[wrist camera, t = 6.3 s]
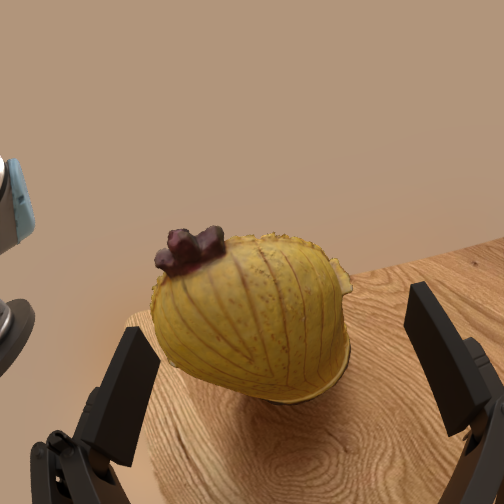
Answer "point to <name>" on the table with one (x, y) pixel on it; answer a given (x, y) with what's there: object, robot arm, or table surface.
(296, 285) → the yellow ribbed rounded piece
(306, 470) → the table surface
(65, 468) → the robot arm
